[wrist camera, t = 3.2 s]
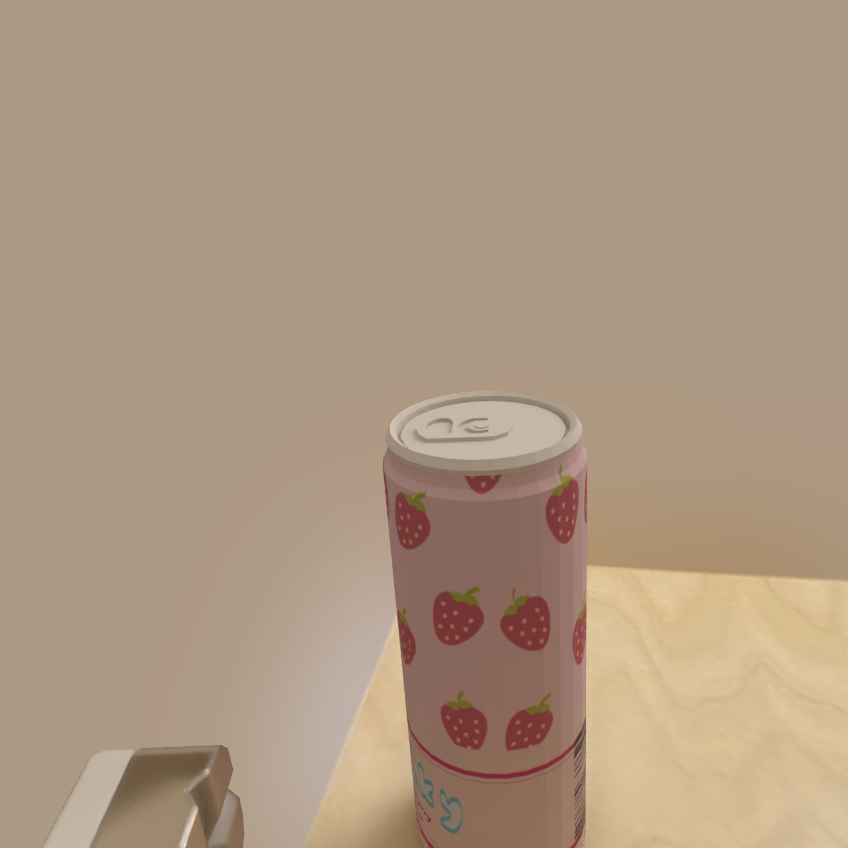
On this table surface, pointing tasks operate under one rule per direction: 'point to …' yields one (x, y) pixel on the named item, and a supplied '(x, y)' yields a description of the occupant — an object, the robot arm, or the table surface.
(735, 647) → the table surface
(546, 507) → the beverage can
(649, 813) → the table surface
